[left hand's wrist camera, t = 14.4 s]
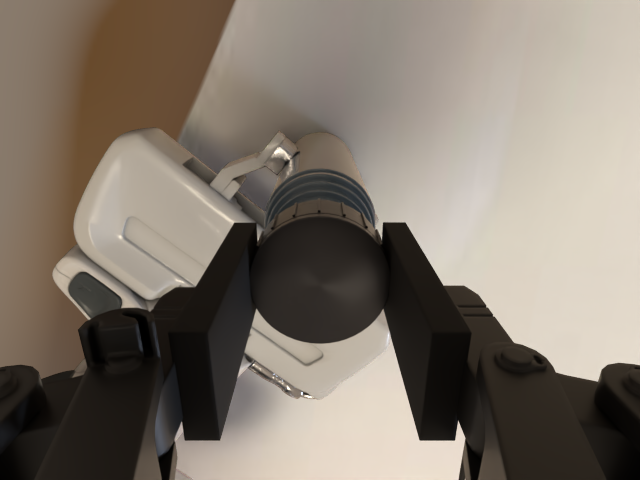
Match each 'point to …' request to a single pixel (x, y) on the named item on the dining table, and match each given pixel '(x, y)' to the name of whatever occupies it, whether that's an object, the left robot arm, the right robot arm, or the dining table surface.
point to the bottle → (320, 177)
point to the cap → (319, 272)
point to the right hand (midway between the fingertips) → (329, 175)
